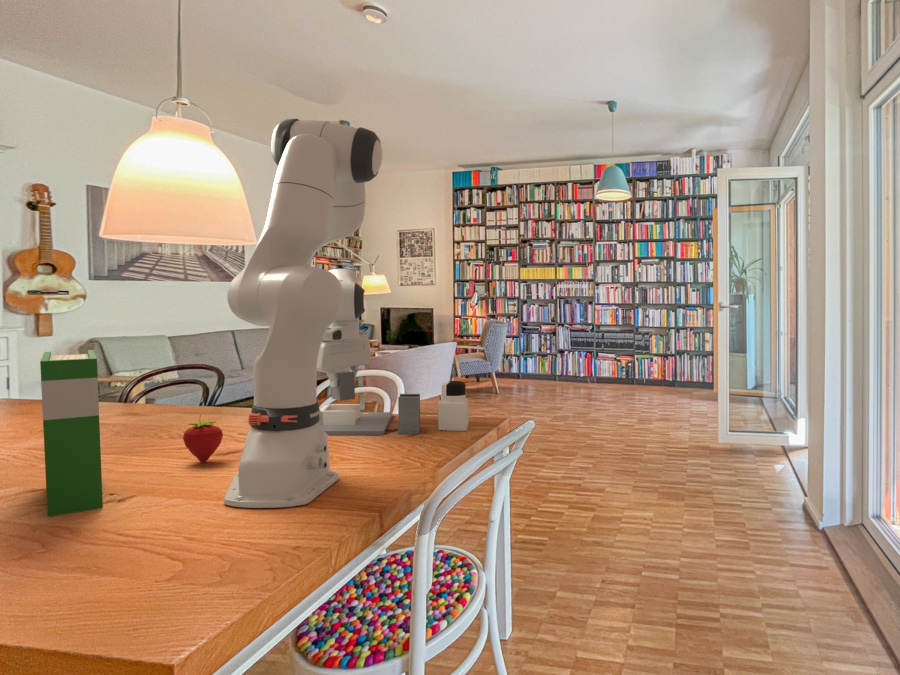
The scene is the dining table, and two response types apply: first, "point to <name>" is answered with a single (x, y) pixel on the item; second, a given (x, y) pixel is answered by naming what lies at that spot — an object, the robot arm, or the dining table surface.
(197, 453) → the strawberry
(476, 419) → the dining table surface
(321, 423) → the end holder
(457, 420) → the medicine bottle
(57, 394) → the hardback book
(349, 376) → the connector plug
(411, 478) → the dining table surface
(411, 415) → the dark grey upright block
